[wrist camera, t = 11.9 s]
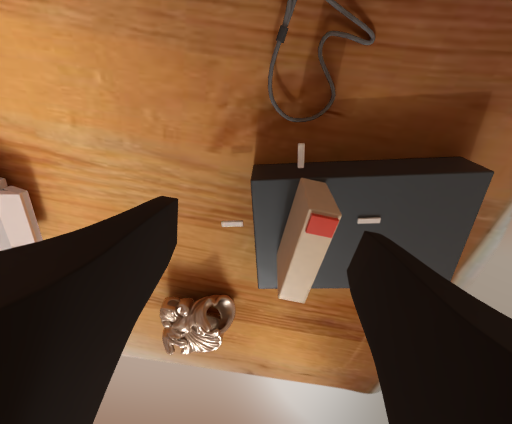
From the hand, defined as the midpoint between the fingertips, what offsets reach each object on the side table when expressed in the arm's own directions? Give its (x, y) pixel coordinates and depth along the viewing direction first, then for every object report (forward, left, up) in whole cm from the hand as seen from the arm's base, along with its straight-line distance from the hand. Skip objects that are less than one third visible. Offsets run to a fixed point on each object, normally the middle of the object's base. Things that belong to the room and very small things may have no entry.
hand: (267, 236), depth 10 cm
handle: (+2, -3, -6) cm, 7 cm away
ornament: (-8, -15, -10) cm, 19 cm away
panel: (+5, -4, -9) cm, 11 cm away
